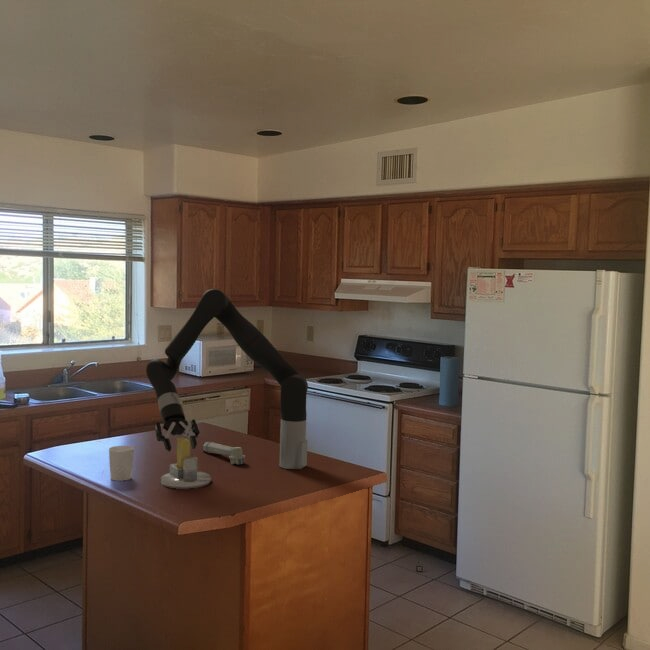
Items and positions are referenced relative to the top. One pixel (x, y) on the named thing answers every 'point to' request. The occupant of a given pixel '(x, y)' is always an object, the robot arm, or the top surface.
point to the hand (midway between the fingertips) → (182, 448)
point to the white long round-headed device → (225, 451)
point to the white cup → (121, 462)
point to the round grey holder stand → (185, 476)
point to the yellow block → (182, 451)
